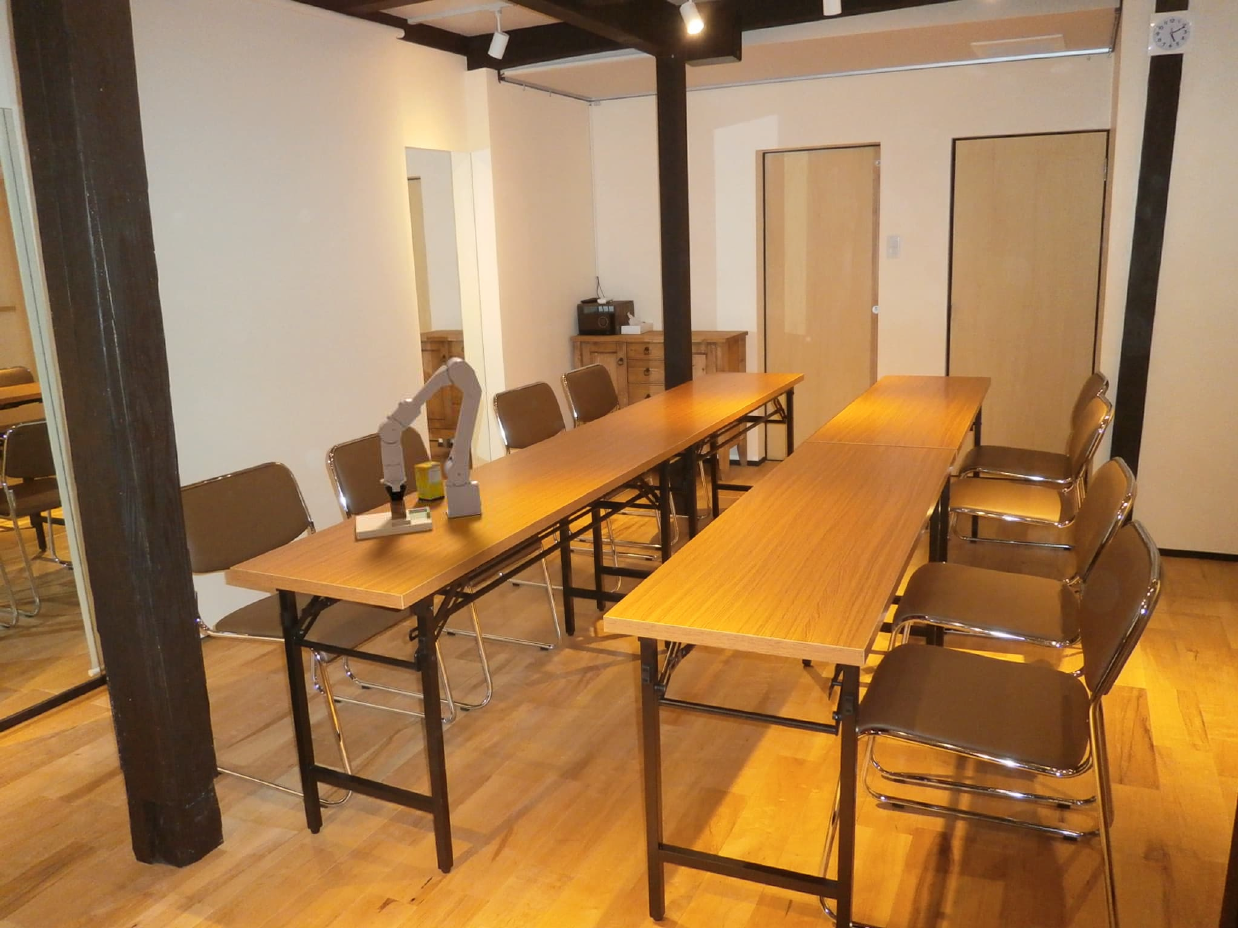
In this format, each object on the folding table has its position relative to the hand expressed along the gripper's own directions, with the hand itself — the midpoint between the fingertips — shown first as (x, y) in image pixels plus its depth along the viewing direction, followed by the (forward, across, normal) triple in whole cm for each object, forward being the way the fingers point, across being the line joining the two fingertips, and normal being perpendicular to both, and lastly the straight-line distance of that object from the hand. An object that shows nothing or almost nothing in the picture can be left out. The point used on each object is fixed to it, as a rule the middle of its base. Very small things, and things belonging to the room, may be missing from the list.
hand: (398, 510), depth 273 cm
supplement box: (+3, -22, +10) cm, 24 cm away
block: (+1, +2, 0) cm, 3 cm away
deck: (+3, +3, -2) cm, 5 cm away
